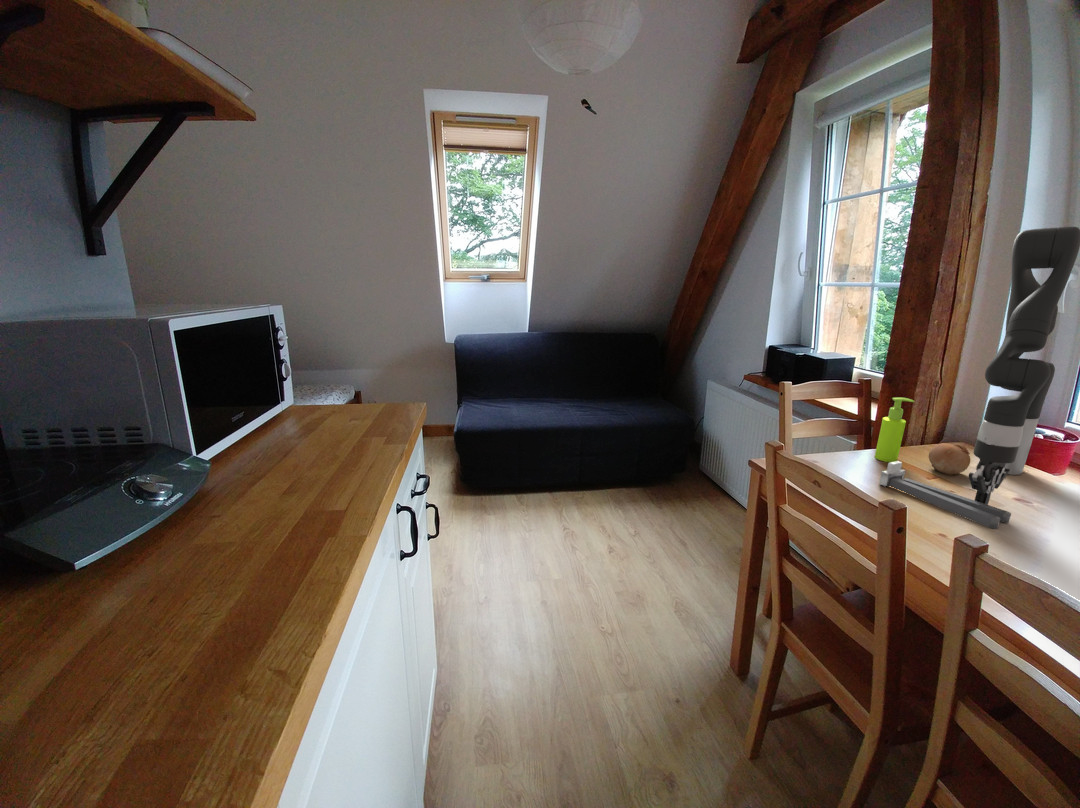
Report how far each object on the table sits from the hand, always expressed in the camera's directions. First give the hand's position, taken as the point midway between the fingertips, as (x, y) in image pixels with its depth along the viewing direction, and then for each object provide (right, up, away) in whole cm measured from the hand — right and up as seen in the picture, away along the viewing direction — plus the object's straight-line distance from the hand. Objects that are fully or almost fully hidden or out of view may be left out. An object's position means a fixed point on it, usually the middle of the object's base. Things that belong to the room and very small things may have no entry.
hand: (980, 504), depth 121 cm
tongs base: (-8, 0, +4) cm, 9 cm away
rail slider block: (-12, +3, +14) cm, 19 cm away
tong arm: (-5, 0, +3) cm, 5 cm away
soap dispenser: (0, +8, +32) cm, 33 cm away
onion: (+10, +5, +23) cm, 25 cm away
